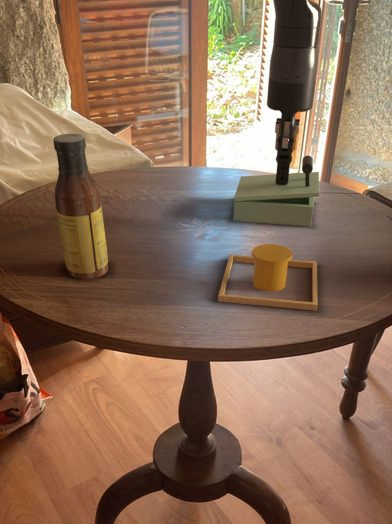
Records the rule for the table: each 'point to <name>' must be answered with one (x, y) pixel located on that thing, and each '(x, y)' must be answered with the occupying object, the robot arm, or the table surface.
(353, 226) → the table surface
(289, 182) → the lid
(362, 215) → the table surface
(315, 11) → the robot arm
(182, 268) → the table surface
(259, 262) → the cylinder
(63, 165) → the sauce bottle
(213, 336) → the table surface
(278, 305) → the tray
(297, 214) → the green storage bin
